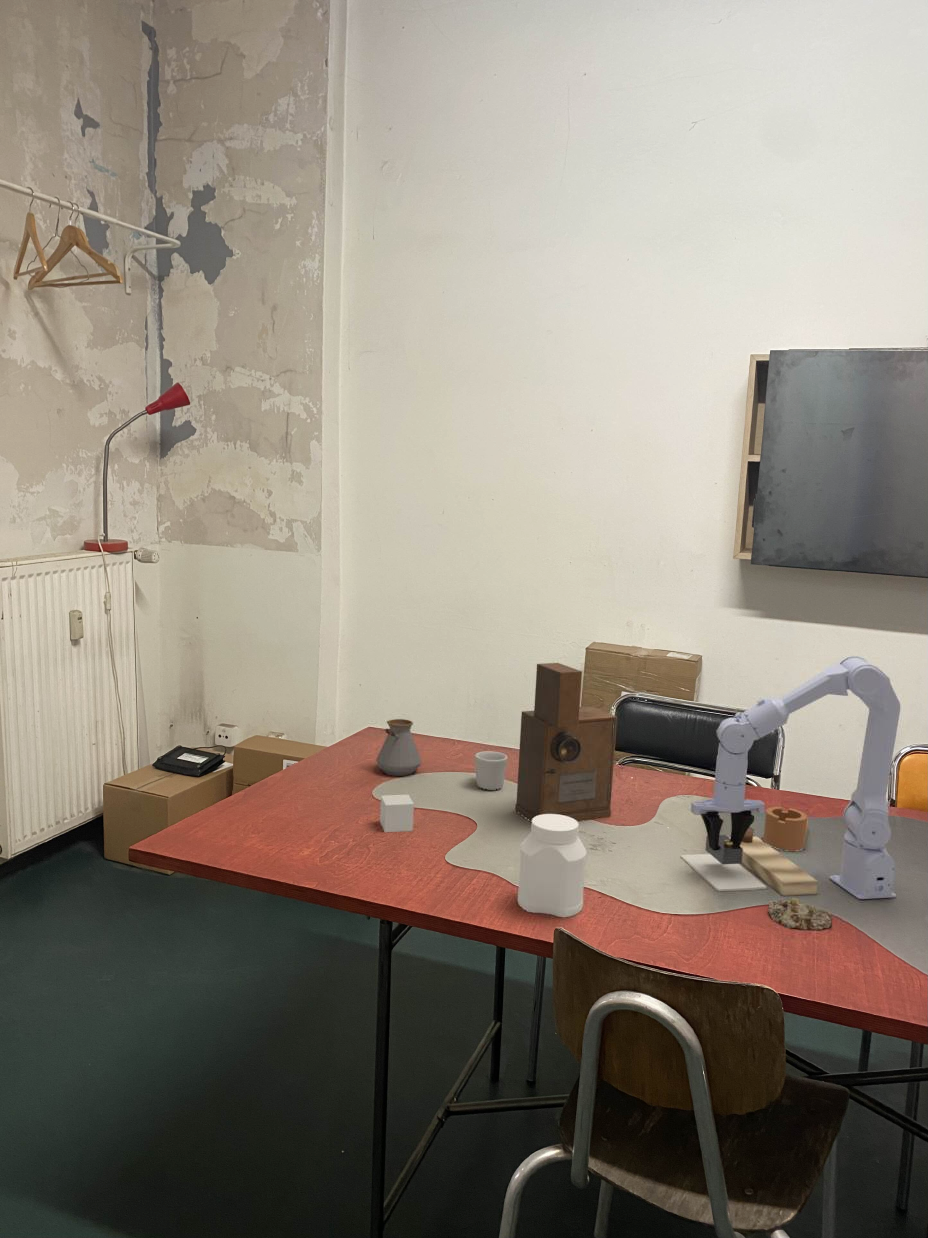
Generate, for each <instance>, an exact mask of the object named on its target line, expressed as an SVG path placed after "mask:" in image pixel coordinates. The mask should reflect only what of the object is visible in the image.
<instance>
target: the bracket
mask: <svg viewBox="0 0 928 1238" xmlns="http://www.w3.org/2000/svg"><path fill="white" fill-rule="evenodd" d="M809 824H810V821H809V819H808V815H807V814H806V813H805V812H803V811H801V810H798V809H795V808H791V807H788V810H783V806H771V807H768V808H766V810H765V819H764V831H763V839H762V841H763V840H764V842H765V843H767V844H769V845H771V846H773V847H776V848H779V849H782V850H781V851H783V850H788V851H787V852H797V851H796V850H800V849H802V848H804V849H805V847H806V846H805V845H806V842H805V841H807V838H808V831H809ZM806 837H807V838H806ZM800 851H801V850H800Z"/></svg>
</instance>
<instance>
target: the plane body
mask: <svg viewBox="0 0 928 1238" xmlns="http://www.w3.org/2000/svg"><path fill="white" fill-rule="evenodd" d="M729 838H730V839H731V836H730V837H729ZM740 847H741V848H743V854H742V864H743V865H744V866H745V867H747V868H748V869H749V870H750V871H751V872H753V873H754V874H755V875H756V876H758V877H759V878H760V879H762V880H763V881H764V882H765V883H766V884H767V885H769V886H770V887H772V888H773V889H774V890H775V891H777V893H779V894H780V895H781V896H784V897H785V896H800V895H802V896H803V895H816V894H817V893H818V882H819V881H818V880H817V879H815V877H813V876H812V875H810V874H809V873H807V872H806V871H805V870H803V869H802V868H801V867H799V866H798V865H797V864H795V863H793V862H792V860H790V859H788V858H787V857H786V856H784V855H783V854H781V853H780V852H778V851H777V849H776V850H775V848H772V847H770V846H769V845H767V844H766V843H765V842H763V839H761V838H759V837H758V836H754V828H753V827H751V826H750V827H749V828H748V830H747V831H746V833H745V835H744V837H743V839H742V842H741V845H740Z"/></svg>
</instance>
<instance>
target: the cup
mask: <svg viewBox="0 0 928 1238" xmlns="http://www.w3.org/2000/svg"><path fill="white" fill-rule="evenodd" d="M508 758H509V757H508V756H507V754H505V753H503V752H498V751H490V750H487V751H486V750H484V751H479V752H477V753H475V755H474V761H475V763H474V764H475V765H474V766H475V780H476V782H475V783H476V785H477V787H478V788H479V789H482V788H483V790H486V789H487V791H497V790H500V789H502V788H503V786H504V784H505V777H506V771H507V765H508ZM496 789H497V790H496Z"/></svg>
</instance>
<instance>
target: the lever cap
mask: <svg viewBox="0 0 928 1238" xmlns="http://www.w3.org/2000/svg"><path fill="white" fill-rule="evenodd" d="M705 838H706V840H705V848H704V851H706V852H707V854H711V855H712V856H713V857H714V858H715V859H717V860H718V861H719V862H720V863H721V864H722V865H723V864H739V865H741V864H743V863H742V854H743V848H741V847H740V846H739V845H738V844H736V843H735V842H734V841H732V840H731V839H730V837H729V836H727V835H726V834H719V844H718V849H717V850H716V851H714V850H713V849H711V848H710V847H709V840H708V835H706V837H705Z"/></svg>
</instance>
